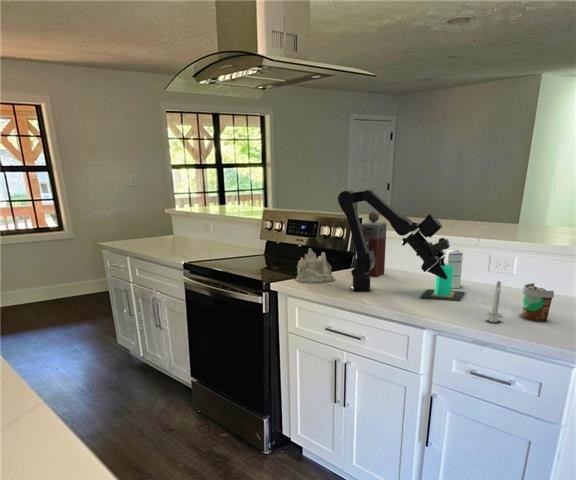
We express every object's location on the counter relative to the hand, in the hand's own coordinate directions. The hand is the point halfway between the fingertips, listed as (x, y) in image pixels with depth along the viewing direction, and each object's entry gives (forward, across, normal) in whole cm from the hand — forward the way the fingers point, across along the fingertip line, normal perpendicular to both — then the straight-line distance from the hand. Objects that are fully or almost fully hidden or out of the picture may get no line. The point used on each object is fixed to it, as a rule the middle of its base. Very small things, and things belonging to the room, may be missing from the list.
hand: (447, 277), depth 192 cm
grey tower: (+5, +17, +5) cm, 18 cm away
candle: (+4, 0, +6) cm, 7 cm away
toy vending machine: (-22, +31, +33) cm, 50 cm away
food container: (+26, -23, -16) cm, 38 cm away
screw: (+19, -31, -9) cm, 37 cm away
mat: (+4, 0, +6) cm, 7 cm away
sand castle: (-37, +14, +48) cm, 62 cm away
